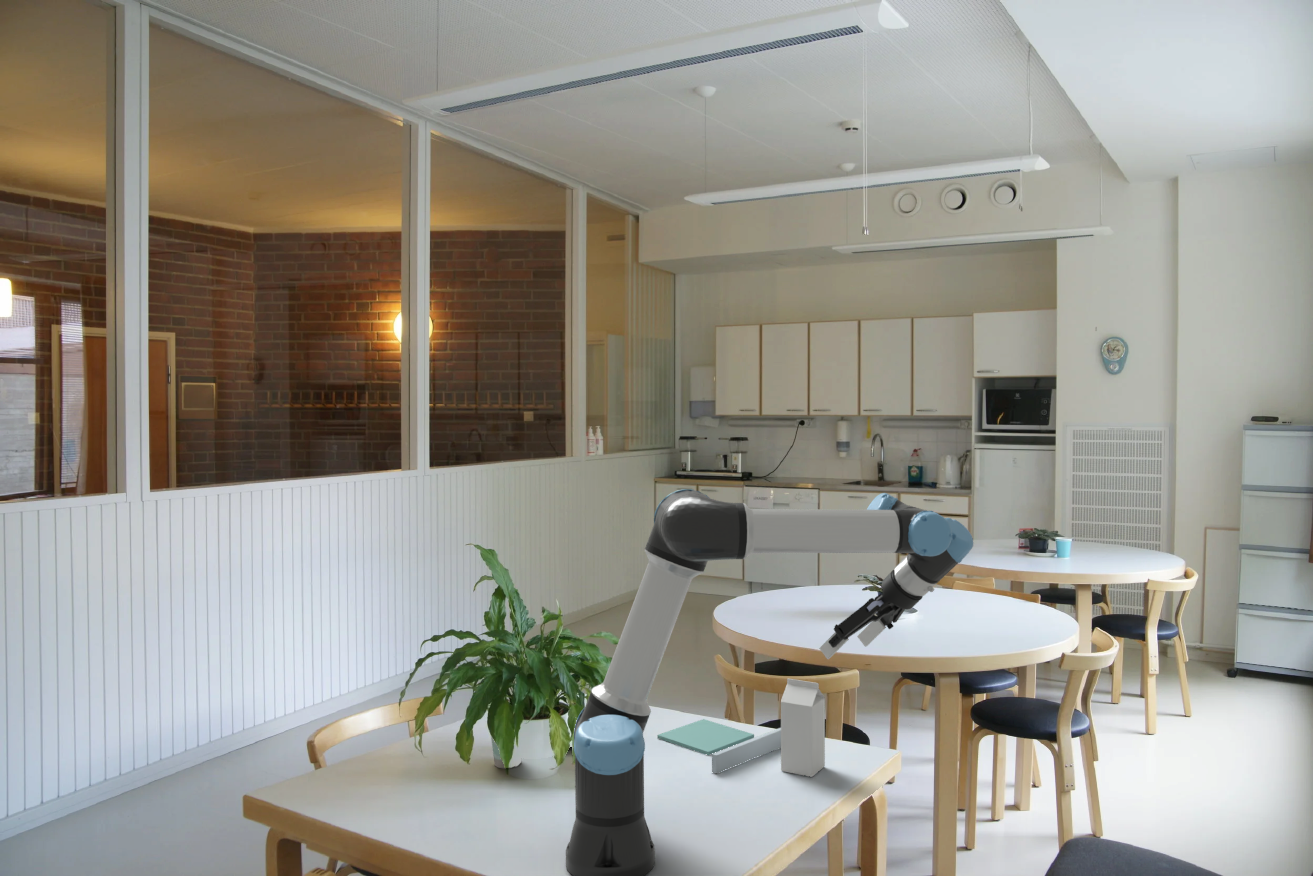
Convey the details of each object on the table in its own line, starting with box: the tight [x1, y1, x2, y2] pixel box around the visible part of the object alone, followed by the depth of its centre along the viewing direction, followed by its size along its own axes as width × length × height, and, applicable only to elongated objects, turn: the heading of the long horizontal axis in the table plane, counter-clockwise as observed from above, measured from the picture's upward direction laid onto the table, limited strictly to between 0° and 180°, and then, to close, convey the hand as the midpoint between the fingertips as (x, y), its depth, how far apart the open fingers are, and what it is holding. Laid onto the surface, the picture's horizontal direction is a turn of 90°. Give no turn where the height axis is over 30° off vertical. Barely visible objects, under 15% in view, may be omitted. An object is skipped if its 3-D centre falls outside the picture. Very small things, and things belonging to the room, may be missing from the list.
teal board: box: [657, 718, 755, 756], centre depth 222 cm, size 16×16×1 cm
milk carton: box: [780, 678, 826, 778], centre depth 202 cm, size 7×7×19 cm
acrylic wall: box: [711, 727, 781, 774], centre depth 210 cm, size 28×1×4 cm, turn 135°
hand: (843, 647), depth 194 cm, fingers open, 13 cm apart
